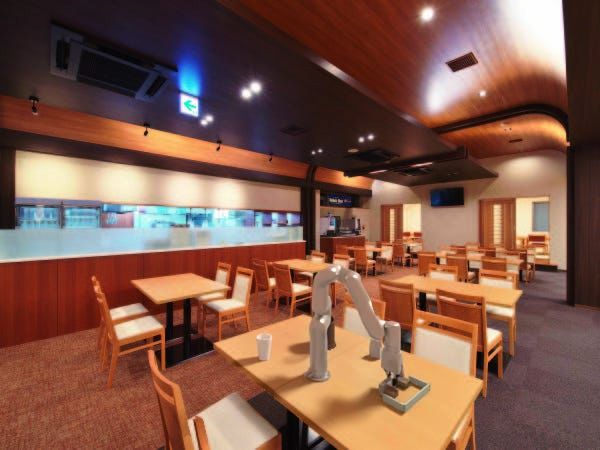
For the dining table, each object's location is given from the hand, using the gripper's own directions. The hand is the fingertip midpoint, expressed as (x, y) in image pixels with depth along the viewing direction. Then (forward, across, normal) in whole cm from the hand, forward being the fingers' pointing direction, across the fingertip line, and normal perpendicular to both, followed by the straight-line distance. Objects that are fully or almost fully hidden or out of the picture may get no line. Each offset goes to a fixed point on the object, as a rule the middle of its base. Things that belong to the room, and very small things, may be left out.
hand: (392, 383), depth 136 cm
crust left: (+2, +3, -6) cm, 7 cm away
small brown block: (+2, +3, +7) cm, 8 cm away
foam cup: (+2, -67, -32) cm, 74 cm away
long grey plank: (+1, 0, 0) cm, 1 cm away
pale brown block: (+2, -24, +22) cm, 33 cm away
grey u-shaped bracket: (+3, +8, 0) cm, 8 cm away
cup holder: (+2, -55, +7) cm, 56 cm away
